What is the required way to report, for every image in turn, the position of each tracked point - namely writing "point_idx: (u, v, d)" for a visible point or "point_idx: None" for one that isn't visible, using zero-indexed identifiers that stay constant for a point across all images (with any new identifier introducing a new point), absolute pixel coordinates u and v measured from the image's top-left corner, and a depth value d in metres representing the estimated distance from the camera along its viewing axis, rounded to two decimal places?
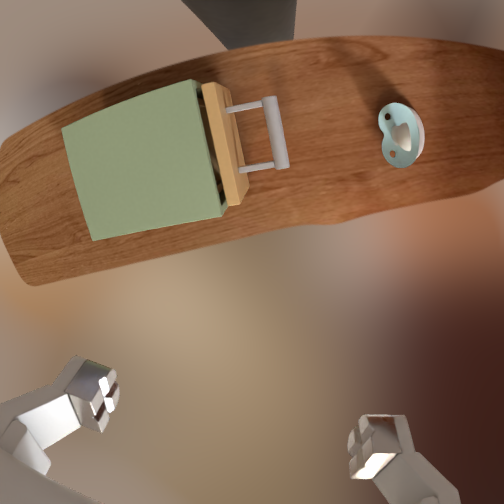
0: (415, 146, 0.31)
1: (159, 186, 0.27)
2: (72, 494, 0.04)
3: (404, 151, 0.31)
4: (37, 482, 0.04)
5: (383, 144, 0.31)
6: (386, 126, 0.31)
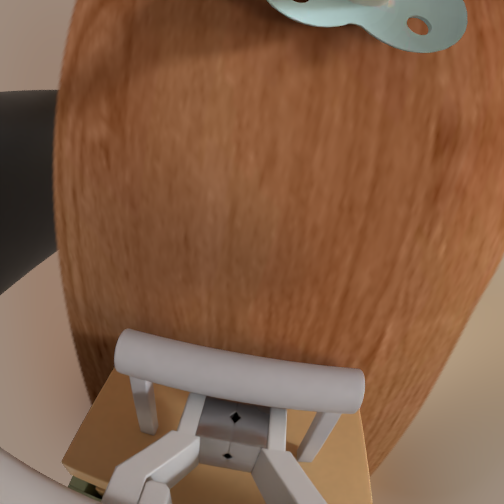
0: None
1: None
2: (72, 494, 0.04)
3: None
4: (37, 482, 0.04)
5: (385, 37, 0.08)
6: (330, 7, 0.08)
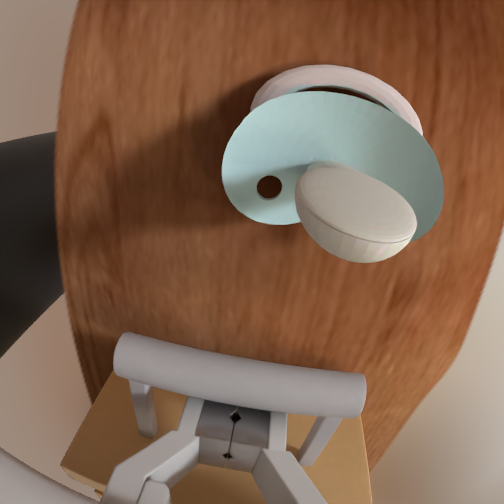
0: (391, 124, 0.09)
1: None
2: (72, 494, 0.04)
3: (394, 168, 0.10)
4: (37, 482, 0.04)
5: None
6: None
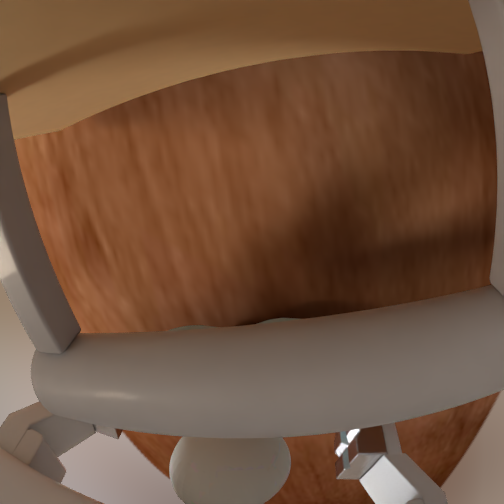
0: None
1: None
2: (72, 494, 0.04)
3: None
4: (37, 482, 0.04)
5: None
6: None
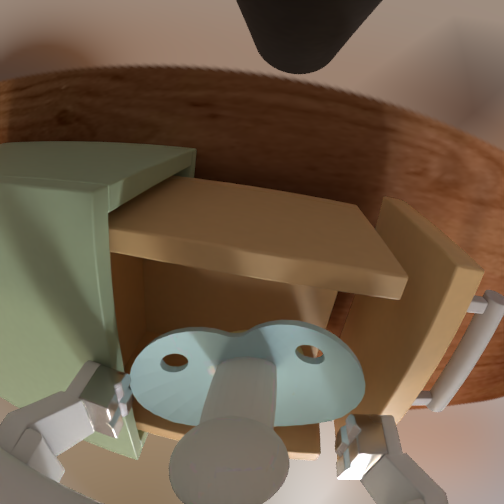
0: None
1: (28, 379, 0.10)
2: (72, 494, 0.04)
3: (194, 392, 0.10)
4: (37, 482, 0.04)
5: (199, 335, 0.09)
6: (271, 345, 0.09)
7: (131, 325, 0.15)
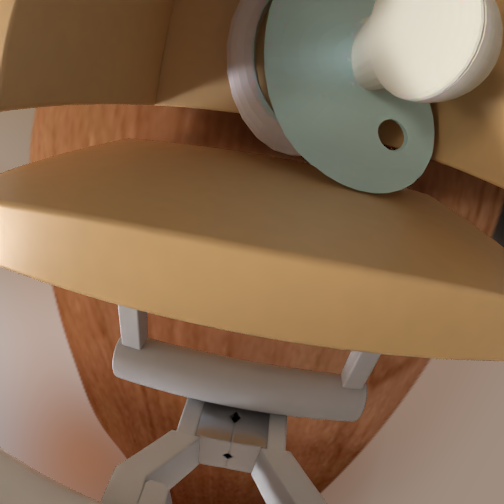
0: None
1: None
2: (72, 494, 0.04)
3: None
4: (37, 482, 0.04)
5: None
6: None
7: None
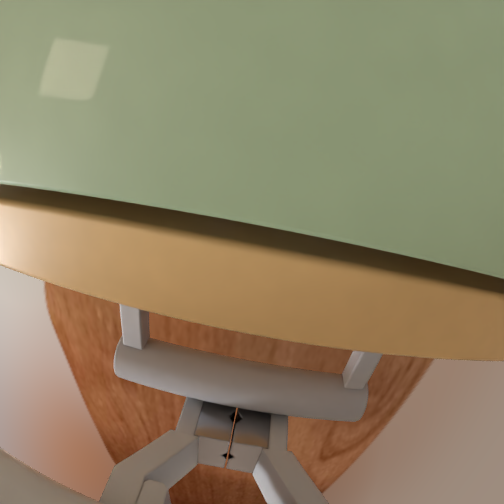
0: None
1: None
2: (72, 494, 0.04)
3: None
4: (37, 482, 0.04)
5: None
6: None
7: None
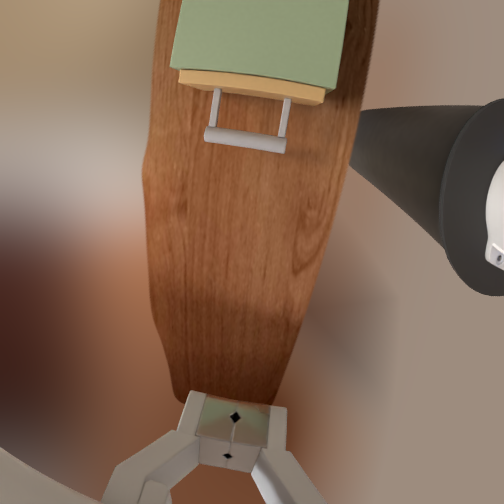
0: None
1: (228, 10, 0.18)
2: (72, 494, 0.04)
3: None
4: (37, 482, 0.04)
5: None
6: None
7: None
